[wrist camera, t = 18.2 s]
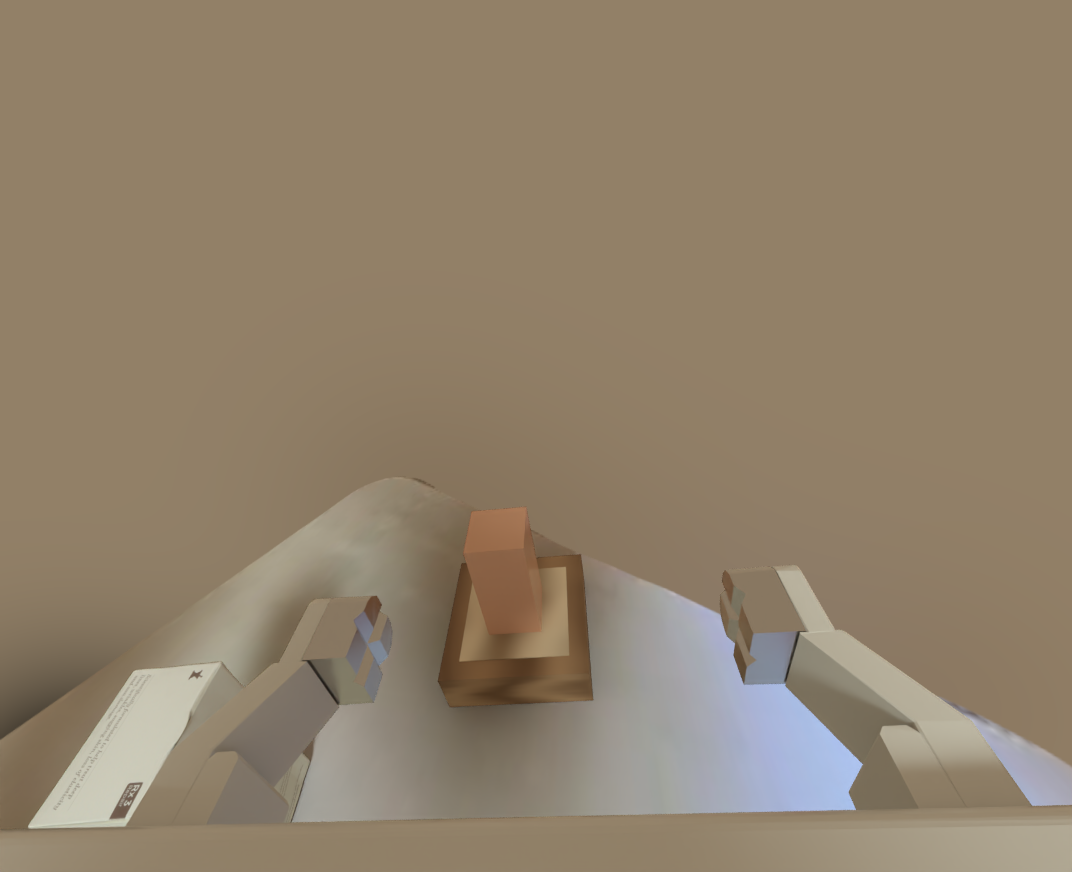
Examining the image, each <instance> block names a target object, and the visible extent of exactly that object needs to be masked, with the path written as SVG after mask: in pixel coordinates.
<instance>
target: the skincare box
mask: <svg viewBox="0 0 1072 872" xmlns="http://www.w3.org/2000/svg"><path fill="white" fill-rule="evenodd" d="M242 689H244V687H243V686H242V685H241V684H240V683H239V681H238V680H237V679H236V678H235V677H234V676H233V675H232V674H231V672H230V671H229V670H228V669H227V668H226V667H225V665H224V664H223V662H222V661H217V662H211V663H200V664H191V665H183V666H175V667H166V668H153V669H141V670H135V671H133V673H132V674H131V675H130V677H129V678H128V680H127V681H126V683H125V684H124V686H123V687H122V689H121V690H120V692H119V693H118V695H117V696H116V698H115V699H114V701H113V702H112V704H111V705H110V707H109V708H108V710H107V711H106V712H105V714H104V715H103V717H102V718H101V720H100V721H99V723H98V724H97V726H96V727H95V729H94V730H93V732H92V733H91V735H90V736H89V738H88V739H87V740H86V742H85V743H84V745H83V746H82V748H81V749H80V751H79V752H78V754H77V755H76V757H75V758H74V759H73V761H72V762H71V764H70V765H69V767H68V768H67V770H66V771H65V773H64V774H63V776H62V777H61V779H60V780H59V782H58V783H57V784H56V786H55V787H54V789H53V790H52V792H51V793H50V795H49V796H48V797H47V799H46V800H45V802H44V803H43V805H42V806H41V808H40V809H39V810H38V812H37V813H36V815H35V816H34V818H33V819H32V821H31V822H30V823H29V825H28V828H30V829H32V828H74V827H117V826H126V824H127V823H128V821H129V819H130V818H131V816H132V815H133V813H134V811H135V810H136V808H137V806H138V805H139V803H140V801H141V800H142V798H143V797H144V795H145V793H146V792H147V790H148V788H149V787H150V785H151V783H152V782H153V780H154V779H155V777H156V775H157V774H158V772H159V770H160V769H161V767H162V765H163V764H164V762H165V761H166V759H167V757H168V756H169V754H170V752H171V751H172V750H173V749H174V748H176V747H177V746H178V745H179V744H180V743H181V742H182V741H184V740H185V739H186V738H187V737H188V736H189V735H191V734H192V733H193V732H194V731H195V730H196V729H197V728H199V727H200V726H201V725H202V724H203V723H204V722H206V721H207V720H208V719H209V718H210V717H211V716H212V715H214V714H215V713H216V712H217V711H218V710H219V709H220V708H222V707H223V706H224V705H225V704H226V703H227V702H229V701H230V700H231V699H232V698H233V697H234V696H235V695H237V694H238V693H239V692H240V691H241V690H242ZM309 763H310V760H309V759H308V758H307V757H306V756H305V755H304V753H303V752H302V754H301V755H300V756H299V757H298V759H297V760H296V761H295V762H294V763H293V765H292V766H291V767H290V768H289V770H288V771H287V772H286V773H285V774H284V776H283V777H282V778H281V779H280V781H279V782H278V783H277V784H276V786H275V787H274V788H275V789H276V790H277V791H278V792H279V793H280V794H281V795H282V796H283V797H284V798H285V799H286V800H287V801H288V804H289V810H288V813H287V815H286V818H285V821H284V823H290V822H291V819H292V816H293V813H294V810H295V807H296V804H297V801H298V798H299V794H300V791H301V788H302V784H303V781H304V778H305V775H306V772H307V769H308V766H309Z"/></svg>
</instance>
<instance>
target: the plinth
mask: <svg viewBox="0 0 1072 872" xmlns="http://www.w3.org/2000/svg"><path fill="white" fill-rule="evenodd" d="M536 559H537V564H538V569H539V574H540V579H541V584H542V632H528V633H512V634H496V635H489V633H488V630H487V627H486V624H485V620H484V617H483V614H482V611H481V608H480V605H479V602H478V598H477V595H476V592H475V589H474V586H473V583H472V580H471V576H470V573H469V570H468V567H467V564H466V563H462V564H461V569H460V574H459V579H458V584H457V589H456V594H455V599H454V604H453V609H452V614H451V619H450V624H449V629H448V634H447V639H446V643H445V648H444V653H443V658H442V663H441V668H440V673H439V678H438V682H439V684H440V687H441V689H442V691H443V693H444V695H445V697H446V700H447V702H448V704H449V706H450V707H460V706H481V705H503V704H524V703H545V702H566V701H587V700H593V693H592V679H591V666H590V653H589V640H588V626H587V613H586V600H585V587H584V576H583V568H582V560H581V554H579V555H566V556H553V557H540V558H536Z"/></svg>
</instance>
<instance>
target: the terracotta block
mask: <svg viewBox="0 0 1072 872" xmlns="http://www.w3.org/2000/svg"><path fill="white" fill-rule="evenodd" d="M463 554H464V558H465V561H466V564H467V567H468V570H469V573H470V576H471V580H472V583H473V586H474V589H475V592H476V595H477V598H478V602H479V605H480V608H481V611H482V614H483V617H484V620H485V624H486V627H487V630H488V633H489V635H496V634H512V633H528V632H542V584H541V579H540V574H539V569H538V564H537V559H536V554H535V549H534V544H533V539H532V534H531V529H530V524H529V519H528V514H527V508H526V507H518V508H506V509H494V510H483V511H472V512H471V517H470V522H469V527H468V532H467V537H466V542H465V547H464V552H463Z"/></svg>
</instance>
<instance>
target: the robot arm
mask: <svg viewBox="0 0 1072 872" xmlns="http://www.w3.org/2000/svg"><path fill="white" fill-rule="evenodd" d="M722 582H723V585H724V588H725V590H724V591H723V592H722V593H721V594H720V611H721V618H722V622H723V626H724V629H725V632H726V635H727V637H728V638H729V639H731V640H732V641H733V642H734V643H735V648H734V658H735V661H736V664H737V667H738V669H739V672H740V675H741V678H742V681H743V683H744V685H752V684H786V685H785V686H786V687H787V688H788V689H789V690H790V691H791V692H792V693H793V694H794V695H795V696H796V697H797V698H798V699H799V700H800V701H801V702H802V703H803V704H804V705H805V706H806V707H807V708H808V709H809V710H810V711H811V712H812V713H813V714H814V715H815V716H816V717H817V718H818V719H819V720H820V721H821V722H822V723H823V724H824V725H825V726H826V727H827V728H828V729H829V730H830V732H831V733H832V734H833V735H834V736H835V737H836V738H837V739H838V740H839V741H840V742H841V743H842V744H843V745H844V746H845V747H846V748H847V749H848V750H849V751H850V752H851V753H852V754H853V755H854V756H855V757H856V758H857V759H858V760H859V761H860V762H861V763H862V764H863V765H862V767H861V769H860V771H859V773H858V775H857V777H856V779H855V780H854V782H853V784H852V786H851V788H850V790H849V794H850V797H851V799H852V801H853V804H854V806H855V808H856V810H828V811H783V812H738V813H693V814H648V815H603V816H558V817H513V818H468V819H424V820H380V821H336V822H292V823H284V821H285V818H286V815H287V813H288V810H289V804H288V801H287V800H286V799H285V798H284V797H283V796H282V795H281V794H280V793H279V792H278V791H277V790H276V789H275V788H274V787H275V786H276V784H277V783H278V782H279V781H280V779H281V778H282V777H283V776H284V774H285V773H286V772H287V771H288V770H289V768H290V767H291V766H292V765H293V763H294V762H295V761H296V760H297V759H298V757H299V756H300V755H301V754H302V752H303V751H304V750H305V749H306V747H307V746H308V745H309V744H310V743H311V741H312V740H313V739H314V738H315V736H316V735H317V734H318V733H319V732H320V730H321V729H322V728H323V727H324V725H325V724H326V723H327V722H328V720H329V719H330V718H331V717H332V716H333V714H334V713H335V712H336V711H337V709H338V708H339V706H338V705H348V704H361V703H374V700H375V697H376V694H377V690H378V687H379V684H380V681H381V678H382V672H381V669H380V667H379V665H380V664H381V663H382V662H383V661H384V660H385V659H386V658H387V657H388V655H389V651H390V648H391V644H392V627H391V622H390V620H389V618H388V616H386V615H385V614H383V613H381V612H380V609H381V606H382V604H381V602H380V601H379V599H378V597H377V596H364V597H341V598H323V599H314V600H313V601H312V602H311V603H310V604H309V605H308V606H307V608H306V610H305V612H304V614H303V616H302V618H301V620H300V622H299V624H298V626H297V628H296V630H295V632H294V634H293V636H292V638H291V640H290V642H289V643H288V645H287V647H286V649H285V651H284V653H283V655H282V657H281V659H280V661H279V663H272V664H271V665H270V666H269V667H268V668H267V669H265V670H264V671H263V672H262V673H261V674H260V675H258V676H257V677H256V678H255V679H254V680H253V681H252V682H250V683H249V684H248V685H247V686H246V687H245V688H244V689H242V690H241V691H240V692H239V693H238V694H237V695H235V696H234V697H233V698H232V699H231V700H230V701H229V702H227V703H226V704H225V705H224V706H223V707H222V708H220V709H219V710H218V711H217V712H216V713H215V714H214V715H212V716H211V717H210V718H209V719H208V720H207V721H206V722H204V723H203V724H202V725H201V726H200V727H199V728H197V729H196V730H195V731H194V732H193V733H192V734H191V735H189V736H188V737H187V738H186V739H185V740H184V741H182V742H181V743H180V744H179V745H178V746H177V747H176V748H174V749H173V750H172V751H171V752H170V754H169V756H168V757H167V759H166V761H165V762H164V764H163V765H162V767H161V769H160V770H159V772H158V774H157V775H156V777H155V779H154V780H153V782H152V783H151V785H150V787H149V788H148V790H147V792H146V793H145V795H144V797H143V798H142V800H141V801H140V803H139V805H138V806H137V808H136V810H135V811H134V813H133V815H132V816H131V818H130V819H129V821H128V823H127V824H126V826H117V827H74V828H32V829H0V872H1072V805H1053V806H1032V805H1031V804H1030V802H1029V801H1028V799H1027V798H1026V797H1025V795H1024V794H1023V792H1022V791H1021V790H1020V788H1019V787H1018V785H1017V784H1016V783H1015V781H1014V780H1013V778H1012V777H1011V776H1010V774H1009V773H1008V771H1007V770H1006V768H1005V767H1004V766H1003V764H1002V763H1001V761H1000V760H999V759H998V757H997V756H996V754H995V753H994V752H993V750H992V749H991V747H990V746H989V744H988V743H987V742H986V740H985V739H984V737H983V736H982V735H981V733H980V732H979V730H978V729H977V728H976V726H975V725H974V723H973V722H972V721H971V720H970V719H968V718H967V717H965V716H964V715H963V714H961V713H960V712H958V711H957V710H956V709H954V708H953V707H951V706H950V705H948V704H947V703H946V702H944V701H943V700H941V699H940V698H939V697H937V696H936V695H934V694H933V693H931V692H930V691H929V690H927V689H926V688H924V687H923V686H921V685H920V684H919V683H917V682H916V681H914V680H913V679H911V678H910V677H909V676H907V675H906V674H904V673H903V672H902V671H900V670H899V669H897V668H896V667H894V666H893V665H891V664H890V663H889V662H887V661H886V660H884V659H883V658H882V657H880V656H879V655H877V654H876V653H874V652H873V651H872V650H870V649H868V647H866V646H865V645H863V644H862V643H860V642H859V641H858V640H856V639H855V638H853V637H852V636H851V635H849V634H848V633H846V632H845V631H843V630H835V629H834V627H833V625H832V624H831V622H830V620H829V618H828V617H827V615H826V613H825V612H824V610H823V608H822V606H821V605H820V603H819V601H818V600H817V598H816V596H815V594H814V592H813V591H812V589H811V587H810V585H809V584H808V582H807V580H806V579H805V577H804V575H803V573H802V572H801V570H800V569H799V568H798V567H797V566H796V565H788V566H775V567H769V566H768V567H756V568H745V569H732V570H725V571H724V573H723V577H722Z"/></svg>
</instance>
